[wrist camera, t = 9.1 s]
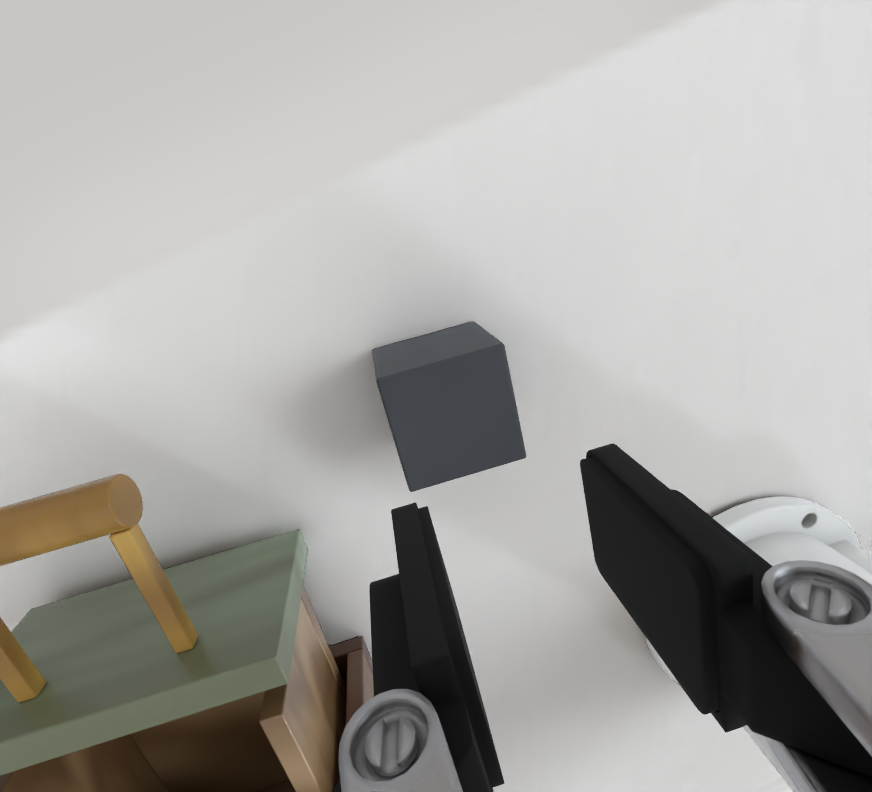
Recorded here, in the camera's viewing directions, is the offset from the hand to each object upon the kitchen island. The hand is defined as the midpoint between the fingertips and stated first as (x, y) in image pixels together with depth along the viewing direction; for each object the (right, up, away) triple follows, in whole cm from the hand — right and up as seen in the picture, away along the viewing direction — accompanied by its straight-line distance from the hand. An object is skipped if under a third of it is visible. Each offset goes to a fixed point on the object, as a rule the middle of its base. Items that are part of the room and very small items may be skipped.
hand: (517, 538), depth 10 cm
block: (-2, +4, +11) cm, 11 cm away
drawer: (-12, -7, +11) cm, 18 cm away
